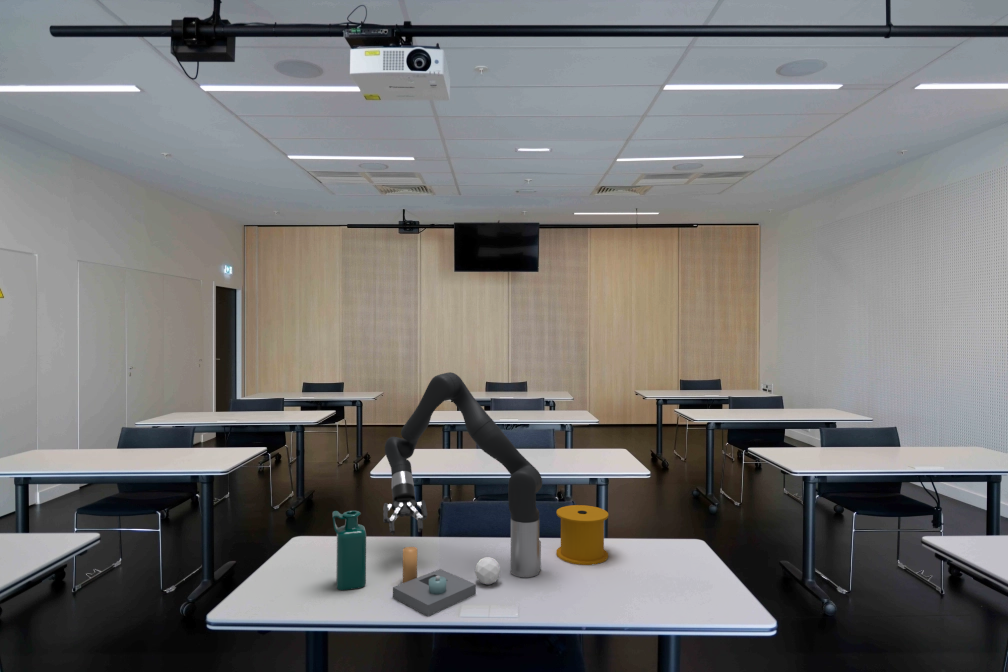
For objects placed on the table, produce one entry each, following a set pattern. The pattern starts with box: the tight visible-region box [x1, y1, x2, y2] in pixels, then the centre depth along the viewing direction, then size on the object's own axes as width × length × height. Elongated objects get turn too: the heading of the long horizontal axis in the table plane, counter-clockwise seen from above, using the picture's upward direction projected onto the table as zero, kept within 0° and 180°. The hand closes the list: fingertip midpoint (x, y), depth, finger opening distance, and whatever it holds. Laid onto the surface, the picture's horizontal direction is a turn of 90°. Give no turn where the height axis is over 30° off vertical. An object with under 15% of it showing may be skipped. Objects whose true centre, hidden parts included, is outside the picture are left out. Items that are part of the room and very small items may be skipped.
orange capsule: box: [402, 546, 418, 583], centre depth 171 cm, size 4×4×10 cm
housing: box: [392, 568, 477, 617], centre depth 161 cm, size 18×16×7 cm
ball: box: [474, 556, 501, 586], centre depth 170 cm, size 8×8×8 cm
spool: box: [555, 504, 609, 566], centre depth 193 cm, size 18×18×15 cm
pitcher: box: [332, 510, 367, 591], centre depth 169 cm, size 10×8×22 cm
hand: (406, 532), depth 179 cm, fingers open, 8 cm apart
